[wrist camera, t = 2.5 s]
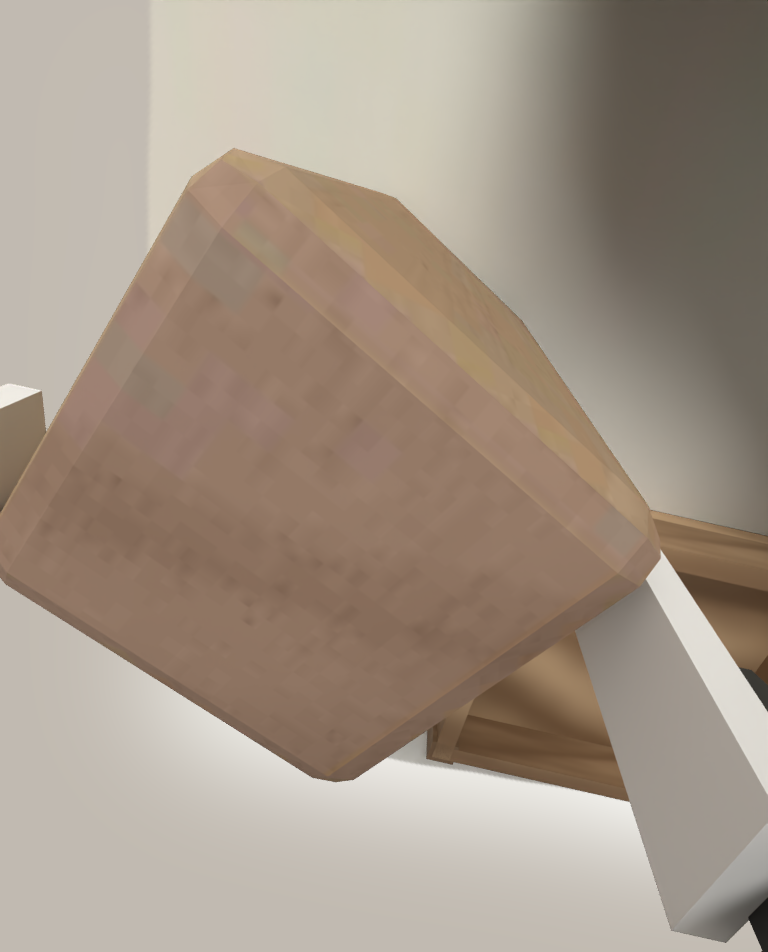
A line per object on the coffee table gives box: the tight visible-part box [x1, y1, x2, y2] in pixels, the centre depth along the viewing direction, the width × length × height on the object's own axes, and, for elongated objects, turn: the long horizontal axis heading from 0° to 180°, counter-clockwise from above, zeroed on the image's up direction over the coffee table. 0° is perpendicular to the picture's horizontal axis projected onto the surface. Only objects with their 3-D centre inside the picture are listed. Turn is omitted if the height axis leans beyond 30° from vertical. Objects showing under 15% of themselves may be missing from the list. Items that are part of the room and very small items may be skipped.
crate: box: [426, 510, 768, 802], centre depth 33 cm, size 20×20×4 cm
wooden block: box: [0, 148, 661, 782], centre depth 18 cm, size 10×10×20 cm
